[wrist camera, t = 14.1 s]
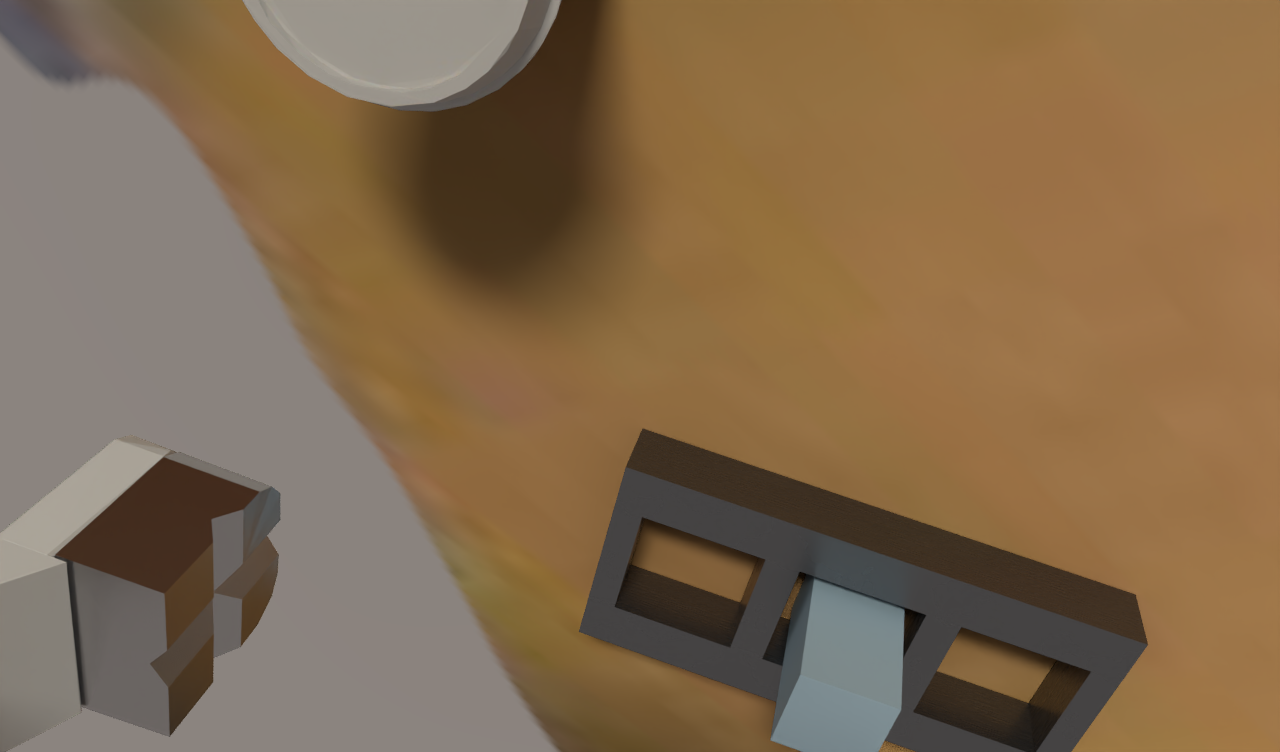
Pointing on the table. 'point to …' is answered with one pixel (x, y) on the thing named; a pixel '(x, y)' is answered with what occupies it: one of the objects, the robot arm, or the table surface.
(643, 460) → the hole rail
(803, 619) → the square block
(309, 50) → the disposable coffee cup
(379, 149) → the table surface
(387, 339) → the table surface
